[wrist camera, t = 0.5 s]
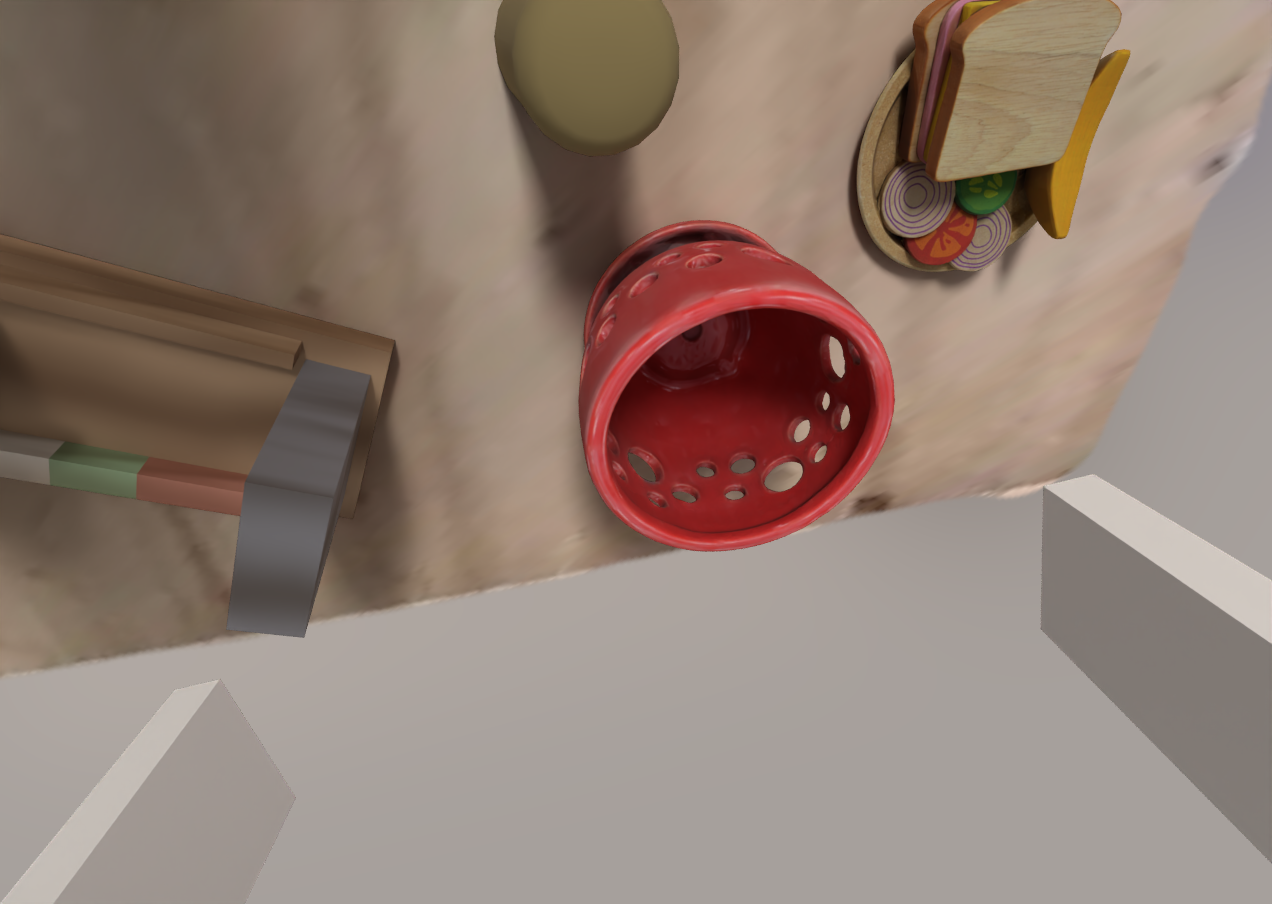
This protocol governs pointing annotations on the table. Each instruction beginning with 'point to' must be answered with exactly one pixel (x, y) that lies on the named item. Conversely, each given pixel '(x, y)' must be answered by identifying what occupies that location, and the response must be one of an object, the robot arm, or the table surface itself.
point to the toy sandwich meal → (986, 128)
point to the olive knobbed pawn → (590, 68)
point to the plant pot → (724, 387)
